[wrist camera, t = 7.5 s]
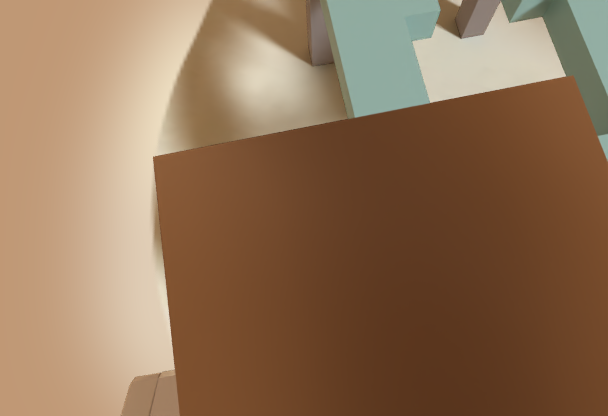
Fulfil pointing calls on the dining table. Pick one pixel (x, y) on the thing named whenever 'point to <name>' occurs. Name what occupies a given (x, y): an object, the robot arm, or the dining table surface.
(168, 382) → the robot arm
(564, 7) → the keyhole shelf
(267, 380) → the walnut peg
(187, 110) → the dining table surface
